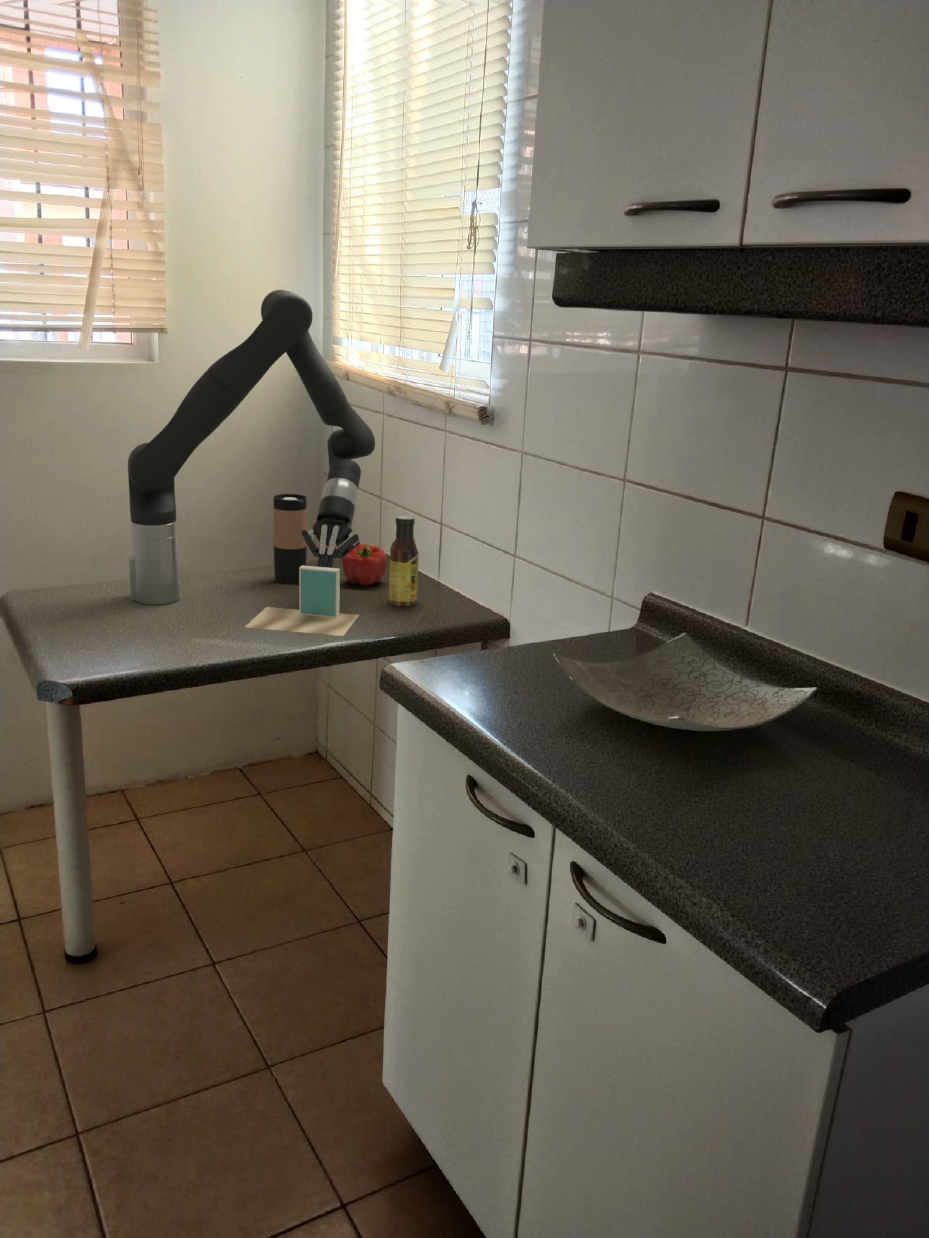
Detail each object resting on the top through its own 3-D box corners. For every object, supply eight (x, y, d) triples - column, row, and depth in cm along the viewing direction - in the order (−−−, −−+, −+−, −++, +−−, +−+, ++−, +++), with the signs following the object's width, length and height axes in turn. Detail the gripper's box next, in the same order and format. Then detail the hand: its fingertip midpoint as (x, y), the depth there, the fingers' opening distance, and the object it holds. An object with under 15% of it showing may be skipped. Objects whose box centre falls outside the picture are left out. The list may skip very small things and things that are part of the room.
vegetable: (390, 589, 233) (391, 547, 229) (345, 591, 230) (346, 548, 227) (381, 577, 243) (382, 536, 239) (338, 578, 240) (339, 537, 237)
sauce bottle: (416, 611, 218) (419, 521, 212) (387, 609, 217) (389, 520, 211) (417, 602, 224) (420, 515, 218) (389, 601, 224) (391, 513, 218)
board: (244, 631, 199) (244, 627, 199) (266, 611, 212) (266, 607, 212) (343, 640, 197) (343, 635, 196) (359, 619, 210) (359, 615, 210)
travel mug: (273, 576, 238) (272, 493, 232) (306, 576, 239) (306, 494, 233) (273, 585, 231) (273, 500, 225) (307, 585, 232) (307, 500, 226)
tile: (299, 614, 208) (299, 568, 205) (302, 611, 210) (302, 565, 207) (336, 617, 207) (337, 571, 204) (339, 614, 209) (339, 568, 206)
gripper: (304, 492, 214) (288, 561, 206) (365, 496, 213) (351, 566, 205) (311, 511, 221) (295, 579, 213) (370, 516, 220) (356, 584, 212)
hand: (323, 573), depth 209 cm, fingers closed
